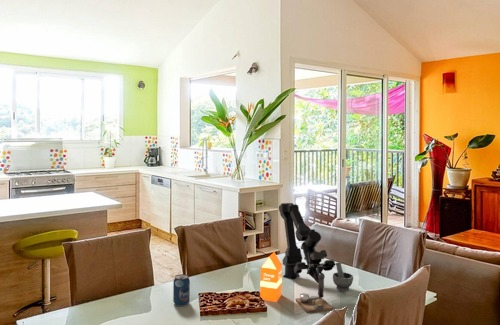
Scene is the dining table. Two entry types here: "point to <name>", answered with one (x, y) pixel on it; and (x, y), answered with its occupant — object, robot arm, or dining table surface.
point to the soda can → (181, 290)
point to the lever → (306, 298)
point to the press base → (315, 305)
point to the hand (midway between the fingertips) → (320, 283)
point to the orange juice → (271, 279)
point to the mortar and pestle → (342, 279)
